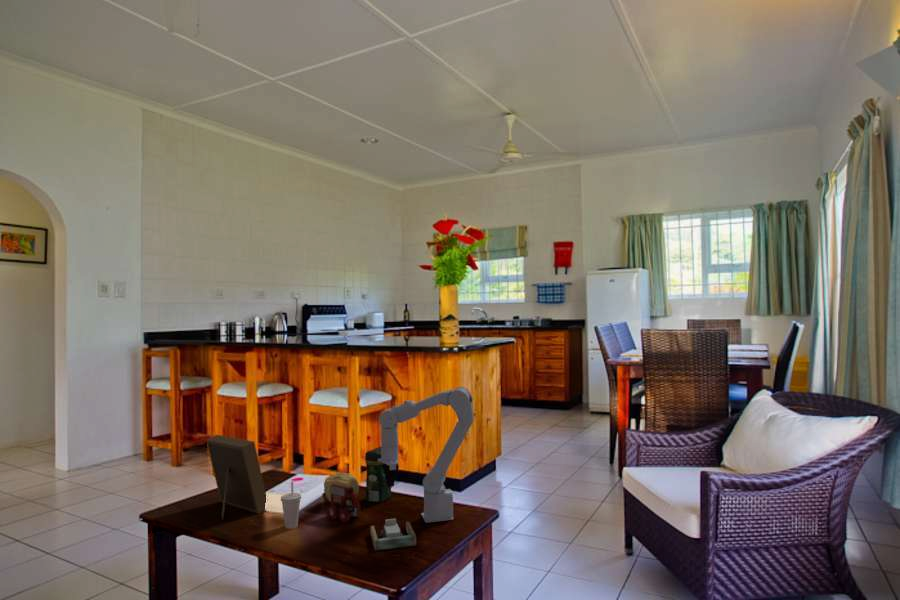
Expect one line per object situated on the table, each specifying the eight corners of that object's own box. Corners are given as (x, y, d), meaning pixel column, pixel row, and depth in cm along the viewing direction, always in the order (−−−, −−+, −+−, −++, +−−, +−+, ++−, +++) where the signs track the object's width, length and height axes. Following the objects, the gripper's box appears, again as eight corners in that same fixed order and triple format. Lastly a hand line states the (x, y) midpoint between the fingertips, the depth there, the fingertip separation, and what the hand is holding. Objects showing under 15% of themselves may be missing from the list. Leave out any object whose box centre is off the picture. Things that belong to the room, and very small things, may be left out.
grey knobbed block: (399, 532, 163) (399, 518, 164) (403, 542, 157) (403, 526, 157) (381, 534, 162) (381, 520, 162) (384, 544, 155) (384, 528, 155)
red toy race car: (351, 524, 171) (351, 492, 171) (323, 517, 177) (323, 486, 178) (365, 517, 177) (365, 486, 177) (338, 511, 183) (337, 480, 183)
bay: (409, 529, 166) (409, 521, 166) (416, 545, 154) (416, 536, 154) (370, 534, 163) (370, 525, 163) (374, 550, 151) (374, 541, 151)
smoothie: (305, 524, 171) (305, 480, 172) (292, 531, 166) (291, 486, 166) (290, 521, 174) (290, 478, 175) (276, 528, 168) (276, 484, 169)
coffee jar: (376, 493, 201) (376, 444, 201) (394, 496, 197) (393, 446, 198) (361, 501, 192) (361, 450, 193) (380, 504, 189) (379, 452, 189)
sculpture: (319, 507, 187) (319, 476, 188) (336, 496, 199) (336, 467, 199) (348, 510, 184) (348, 478, 184) (364, 498, 195) (363, 469, 196)
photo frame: (231, 498, 197) (230, 431, 198) (268, 509, 185) (267, 438, 186) (193, 511, 185) (192, 440, 185) (230, 524, 173) (229, 447, 173)
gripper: (375, 441, 185) (375, 480, 184) (380, 451, 171) (380, 493, 170) (395, 439, 186) (396, 478, 186) (402, 449, 172) (402, 491, 172)
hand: (390, 486), depth 178 cm, fingers closed
